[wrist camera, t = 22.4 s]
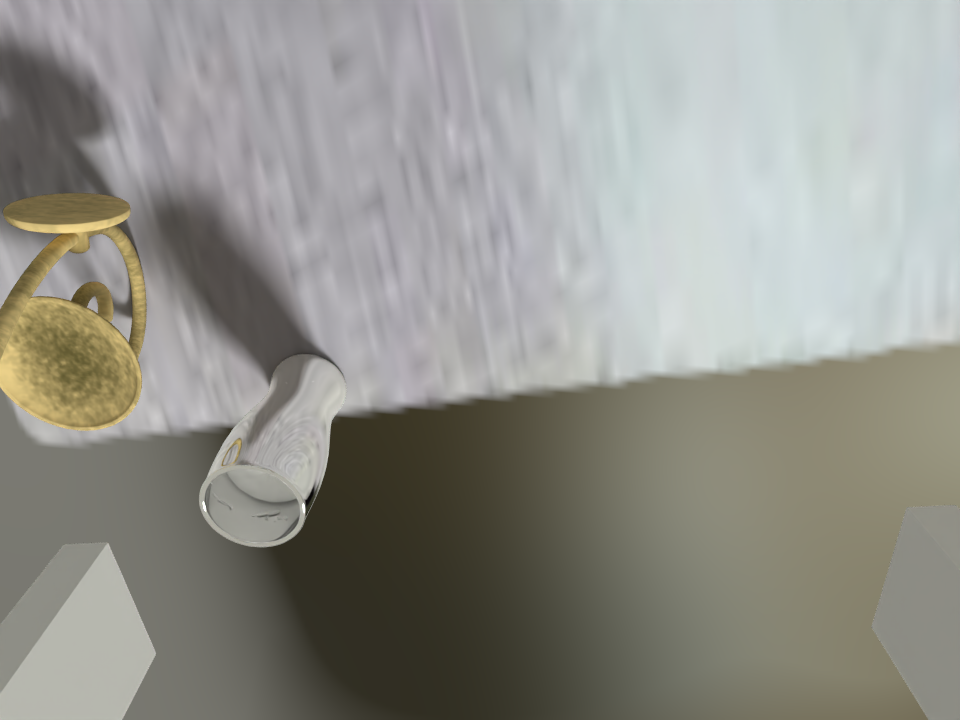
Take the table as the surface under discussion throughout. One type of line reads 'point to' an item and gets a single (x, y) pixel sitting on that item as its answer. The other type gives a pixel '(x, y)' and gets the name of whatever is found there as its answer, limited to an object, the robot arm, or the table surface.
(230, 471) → the beer glass
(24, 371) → the wall sconce
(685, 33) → the table surface
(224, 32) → the table surface
